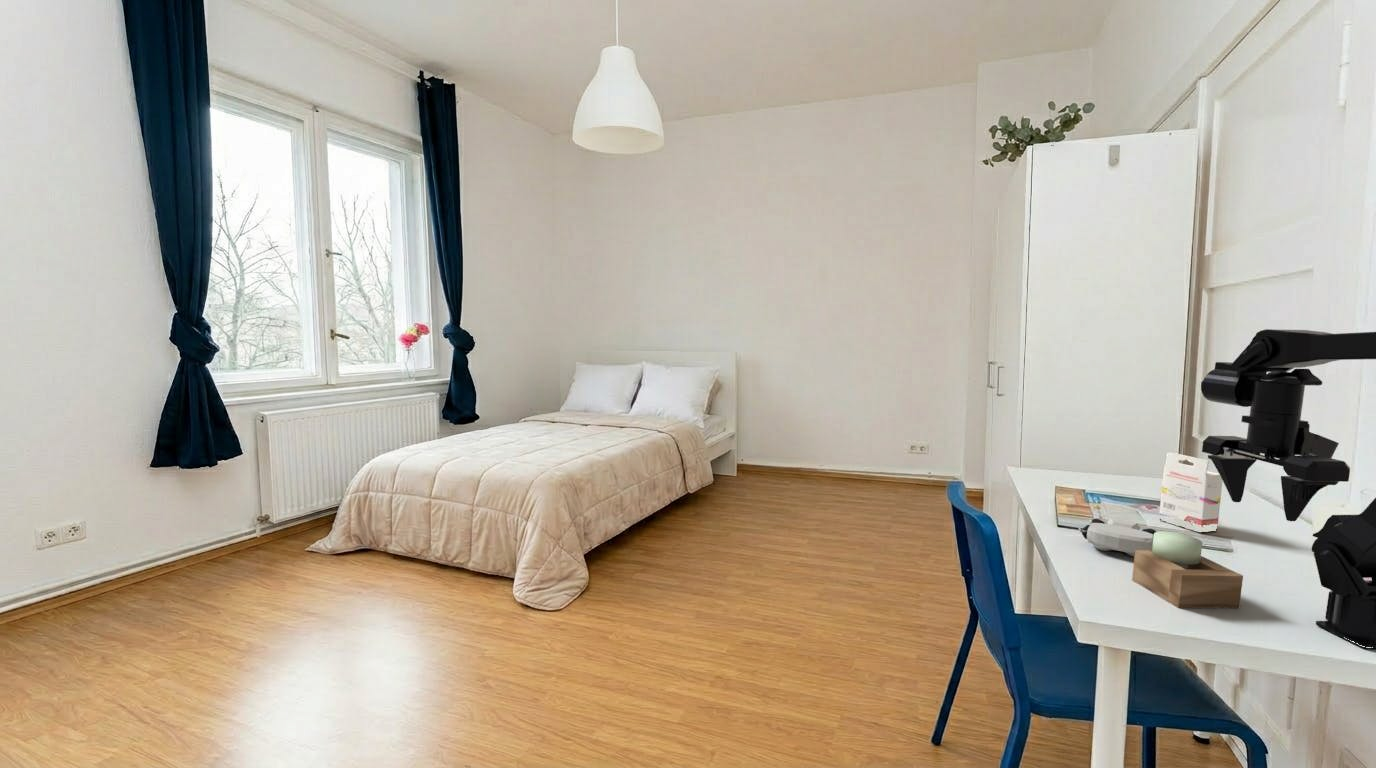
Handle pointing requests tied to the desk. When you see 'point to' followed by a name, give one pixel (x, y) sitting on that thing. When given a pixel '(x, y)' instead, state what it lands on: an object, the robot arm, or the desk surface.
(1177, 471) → the ink cartridge box
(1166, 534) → the peg
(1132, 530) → the robot toy
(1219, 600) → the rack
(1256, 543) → the desk surface
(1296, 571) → the desk surface
